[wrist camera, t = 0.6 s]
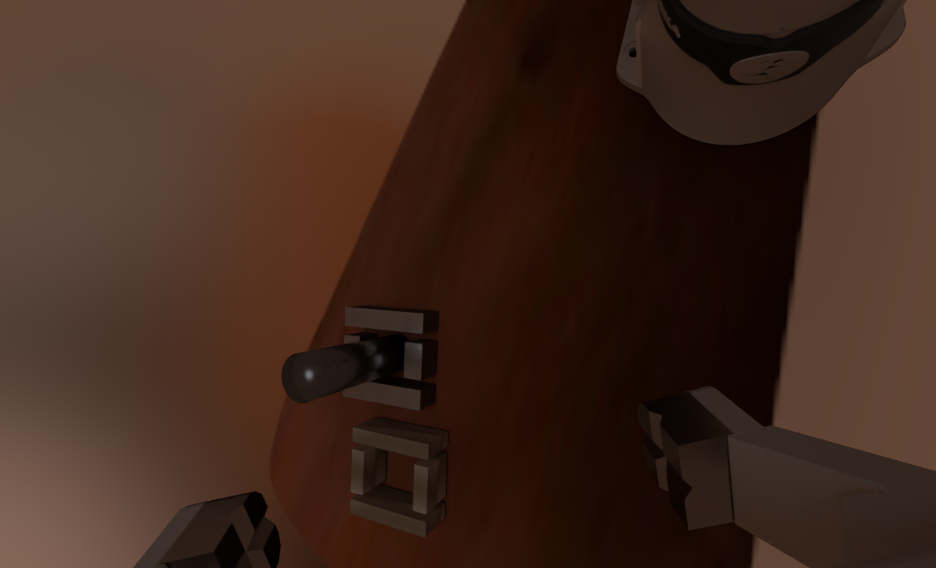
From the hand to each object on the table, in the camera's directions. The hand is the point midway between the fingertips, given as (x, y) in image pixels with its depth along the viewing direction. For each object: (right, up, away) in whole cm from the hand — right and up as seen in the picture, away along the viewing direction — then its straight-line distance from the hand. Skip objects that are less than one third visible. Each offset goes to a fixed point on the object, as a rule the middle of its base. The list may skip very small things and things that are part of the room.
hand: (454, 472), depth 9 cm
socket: (-7, -3, +39) cm, 40 cm away
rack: (-6, -16, +38) cm, 42 cm away
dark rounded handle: (-7, -3, +39) cm, 40 cm away
